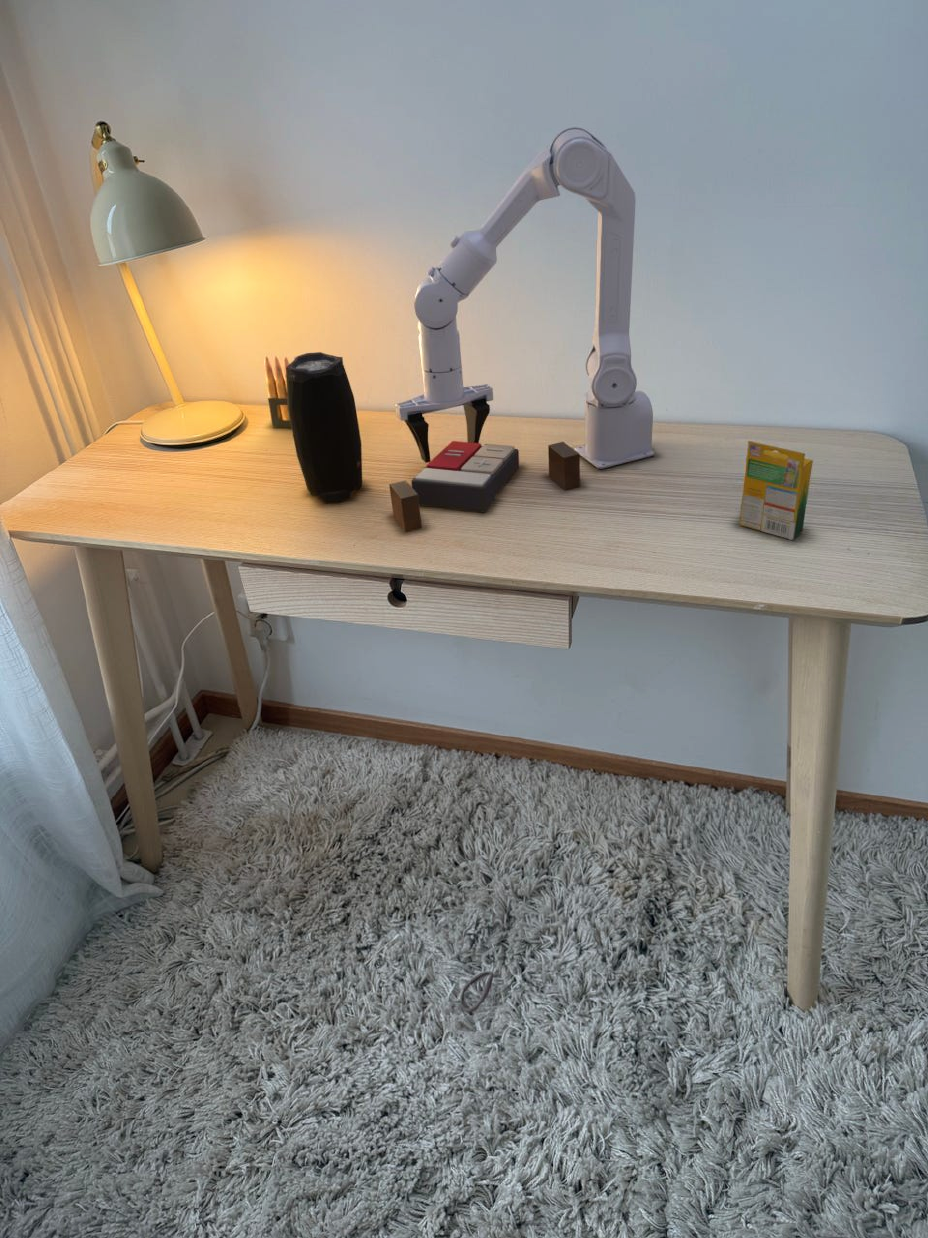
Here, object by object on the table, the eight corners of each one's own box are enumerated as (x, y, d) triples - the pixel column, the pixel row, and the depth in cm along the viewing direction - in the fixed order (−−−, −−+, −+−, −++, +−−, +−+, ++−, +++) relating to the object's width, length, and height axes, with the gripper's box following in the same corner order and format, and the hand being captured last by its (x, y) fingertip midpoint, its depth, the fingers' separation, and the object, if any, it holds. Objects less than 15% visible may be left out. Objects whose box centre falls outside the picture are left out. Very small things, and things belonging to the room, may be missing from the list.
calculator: (519, 443, 135) (483, 483, 123) (520, 471, 137) (485, 512, 125) (450, 437, 138) (409, 475, 127) (452, 464, 141) (412, 504, 129)
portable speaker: (378, 486, 135) (360, 355, 124) (330, 511, 129) (306, 376, 118) (341, 472, 140) (320, 345, 129) (292, 495, 134) (266, 365, 123)
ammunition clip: (272, 426, 158) (258, 357, 151) (276, 422, 159) (263, 354, 152) (329, 428, 155) (318, 358, 148) (333, 424, 156) (322, 355, 150)
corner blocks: (563, 473, 134) (563, 441, 131) (579, 486, 130) (579, 453, 127) (393, 516, 127) (388, 484, 124) (405, 532, 123) (401, 498, 120)
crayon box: (803, 531, 115) (816, 445, 108) (792, 541, 113) (805, 454, 107) (749, 516, 119) (758, 432, 113) (738, 525, 117) (747, 440, 111)
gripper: (477, 348, 136) (483, 434, 143) (384, 368, 132) (395, 455, 139) (496, 362, 130) (501, 450, 138) (400, 382, 126) (411, 472, 134)
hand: (449, 454), depth 138 cm, fingers open, 7 cm apart
